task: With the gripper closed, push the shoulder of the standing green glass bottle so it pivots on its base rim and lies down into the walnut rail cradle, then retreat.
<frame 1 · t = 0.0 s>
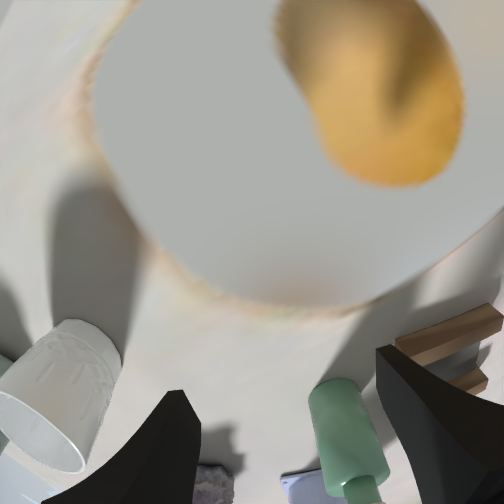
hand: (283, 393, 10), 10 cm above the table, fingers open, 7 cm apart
geode: (179, 487, 29), on the table
white cup: (87, 351, 22), on the table
bottle: (333, 397, 23), on the table
air freshener: (18, 379, 24), on the table
cradle: (441, 360, 23), on the table
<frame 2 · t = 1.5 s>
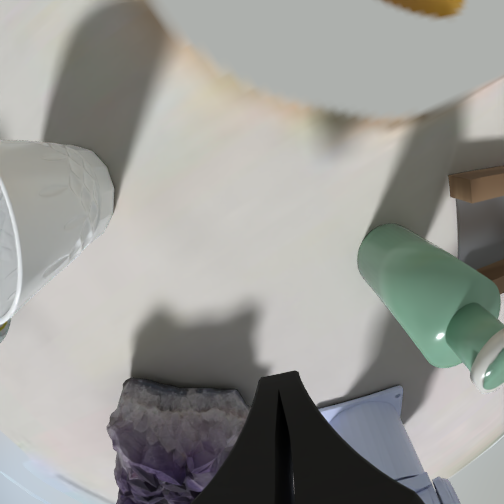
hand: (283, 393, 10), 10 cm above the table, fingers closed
geode: (176, 438, 25), on the table
white cup: (73, 196, 18), on the table
bottle: (388, 256, 19), on the table
cradle: (497, 224, 18), on the table
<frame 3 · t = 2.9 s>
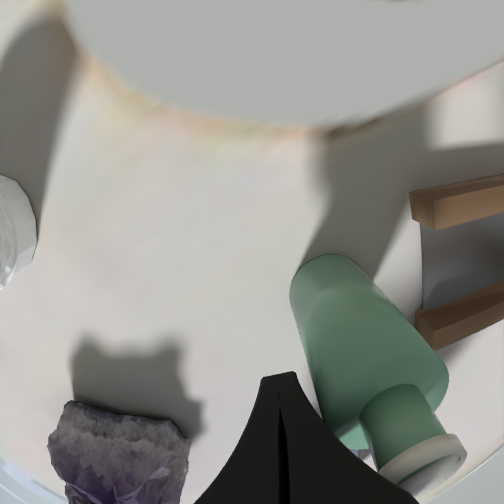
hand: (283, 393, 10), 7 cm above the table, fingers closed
geode: (126, 456, 23), on the table
white cup: (6, 224, 15), on the table
bottle: (328, 292, 17), on the table, touching gripper
cradle: (476, 248, 16), on the table
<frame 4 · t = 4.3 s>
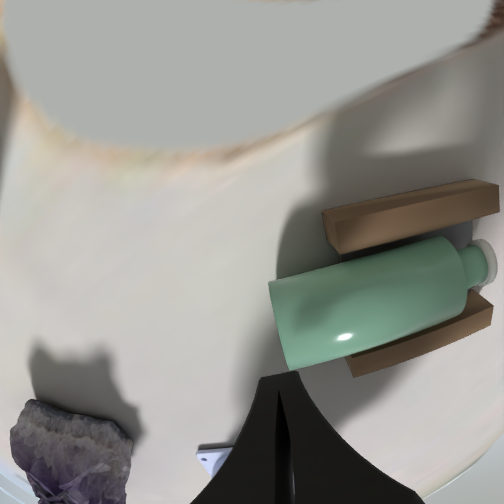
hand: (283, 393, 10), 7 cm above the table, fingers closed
geode: (87, 453, 23), on the table
bottle: (279, 326, 14), point 2 cm above the table, tilted 90°, touching cradle
cradle: (413, 268, 16), on the table
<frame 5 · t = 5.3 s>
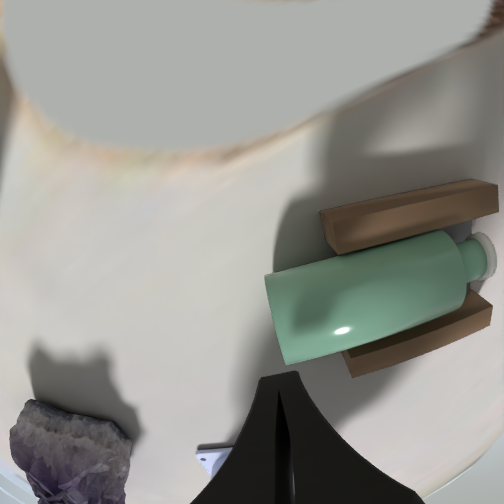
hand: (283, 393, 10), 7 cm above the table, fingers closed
geode: (86, 453, 23), on the table
bottle: (276, 320, 14), point 2 cm above the table, tilted 90°, touching cradle
cradle: (412, 268, 16), on the table
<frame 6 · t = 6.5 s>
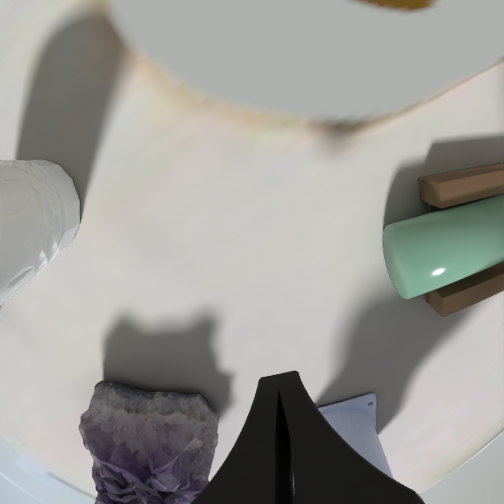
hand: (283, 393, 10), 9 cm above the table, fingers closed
geode: (151, 438, 25), on the table
white cup: (45, 207, 18), on the table
bottle: (397, 262, 16), point 2 cm above the table, tilted 90°, touching cradle
cradle: (476, 228, 18), on the table
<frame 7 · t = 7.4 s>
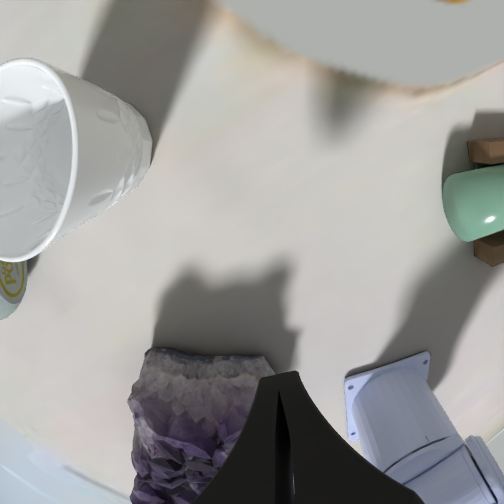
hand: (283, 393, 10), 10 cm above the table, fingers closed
geode: (196, 416, 25), on the table
white cup: (106, 150, 18), on the table
bottle: (460, 208, 16), point 2 cm above the table, tilted 90°, touching cradle
air freshener: (1, 242, 19), on the table
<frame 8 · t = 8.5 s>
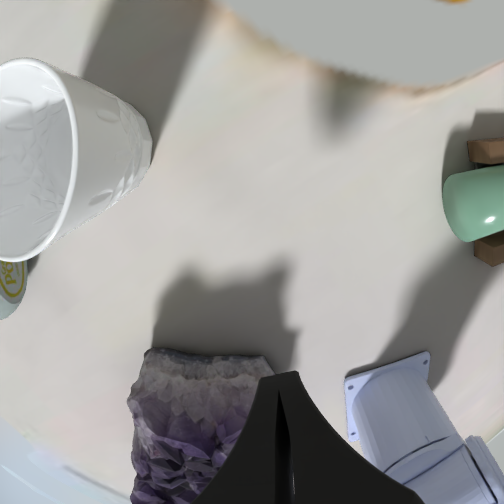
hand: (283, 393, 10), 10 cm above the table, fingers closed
geode: (196, 417, 25), on the table
white cup: (106, 150, 18), on the table
bottle: (460, 208, 16), point 2 cm above the table, tilted 90°, touching cradle
air freshener: (1, 242, 19), on the table
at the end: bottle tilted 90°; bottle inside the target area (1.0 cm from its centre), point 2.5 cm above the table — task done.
